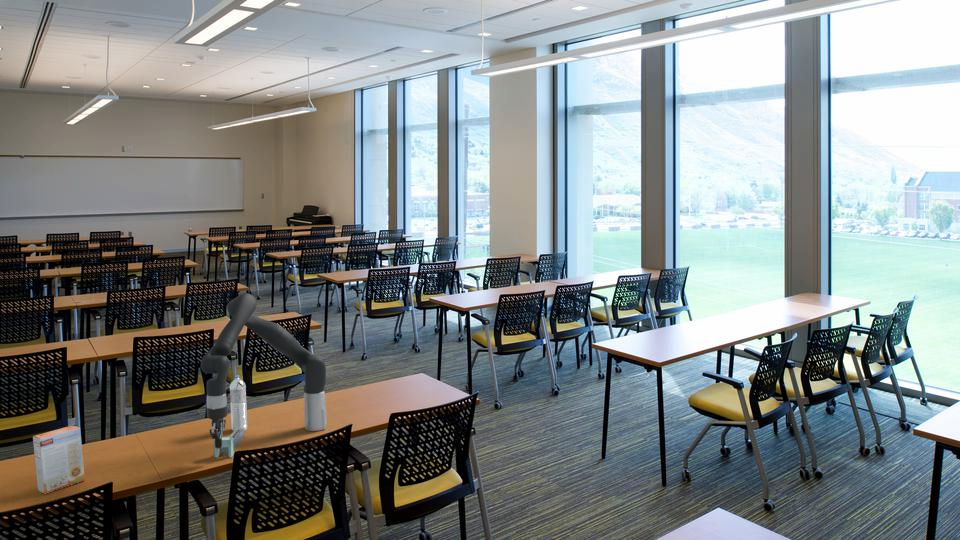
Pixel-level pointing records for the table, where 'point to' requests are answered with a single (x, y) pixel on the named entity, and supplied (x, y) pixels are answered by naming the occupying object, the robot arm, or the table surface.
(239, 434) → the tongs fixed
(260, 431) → the table surface
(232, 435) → the tong arm
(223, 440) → the lock collar
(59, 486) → the cracker box
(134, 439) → the table surface
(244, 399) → the water bottle
